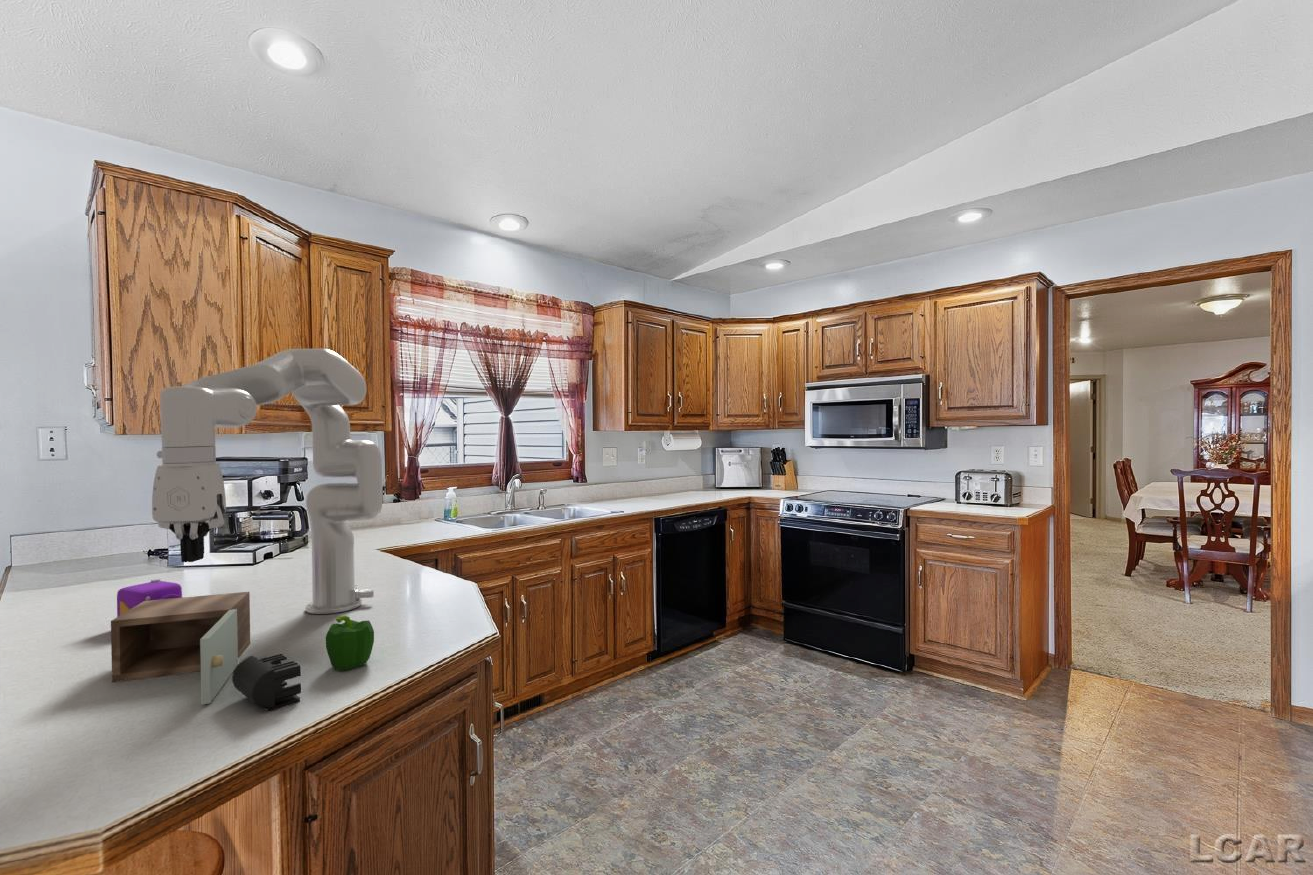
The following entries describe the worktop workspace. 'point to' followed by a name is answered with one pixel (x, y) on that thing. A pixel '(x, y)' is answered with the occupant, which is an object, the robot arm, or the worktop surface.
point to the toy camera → (146, 594)
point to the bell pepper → (349, 643)
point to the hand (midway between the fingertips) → (192, 560)
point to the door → (218, 655)
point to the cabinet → (171, 634)
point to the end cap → (268, 681)
